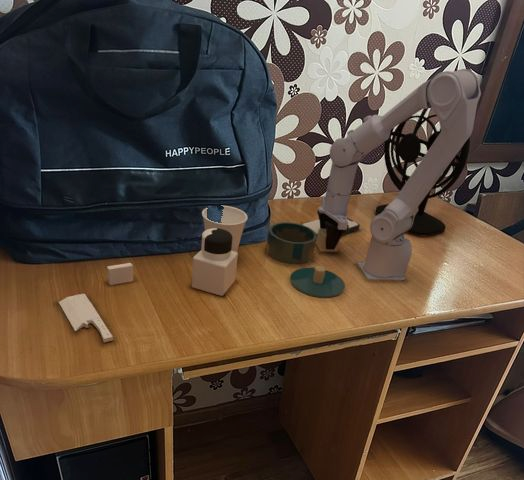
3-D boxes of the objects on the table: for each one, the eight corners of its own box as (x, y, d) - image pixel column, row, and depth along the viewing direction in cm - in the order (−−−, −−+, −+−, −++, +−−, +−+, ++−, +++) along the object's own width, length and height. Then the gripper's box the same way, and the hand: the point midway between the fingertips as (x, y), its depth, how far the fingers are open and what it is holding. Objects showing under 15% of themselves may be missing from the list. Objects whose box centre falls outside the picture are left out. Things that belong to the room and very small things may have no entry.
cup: (236, 274, 111) (241, 228, 105) (193, 265, 112) (195, 218, 106) (246, 254, 119) (252, 210, 113) (206, 246, 120) (209, 202, 113)
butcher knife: (84, 347, 85) (83, 342, 85) (58, 303, 95) (58, 298, 94) (113, 340, 88) (113, 335, 87) (86, 297, 97) (85, 292, 96)
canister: (305, 244, 127) (309, 223, 124) (317, 266, 119) (322, 244, 115) (262, 243, 125) (265, 221, 121) (271, 266, 116) (275, 242, 113)
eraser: (108, 282, 102) (107, 266, 100) (131, 278, 105) (130, 262, 103) (110, 285, 102) (109, 269, 99) (133, 281, 104) (132, 265, 102)
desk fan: (353, 207, 152) (384, 78, 130) (393, 200, 161) (429, 78, 139) (421, 246, 135) (469, 106, 114) (461, 236, 144) (513, 104, 123)
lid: (334, 271, 118) (338, 255, 115) (351, 300, 109) (356, 283, 106) (284, 271, 115) (287, 254, 113) (297, 300, 106) (300, 282, 103)
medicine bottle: (235, 281, 109) (240, 230, 102) (222, 297, 103) (227, 243, 96) (205, 273, 110) (208, 221, 103) (191, 287, 105) (193, 234, 97)
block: (331, 245, 129) (335, 228, 126) (336, 253, 126) (340, 236, 123) (315, 245, 128) (318, 228, 125) (320, 253, 125) (323, 236, 122)
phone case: (321, 243, 130) (360, 230, 139) (322, 237, 129) (362, 224, 138) (297, 229, 135) (337, 217, 144) (298, 224, 134) (338, 212, 143)
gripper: (314, 178, 122) (304, 230, 131) (331, 202, 111) (320, 257, 120) (341, 180, 124) (330, 231, 132) (361, 204, 113) (347, 258, 121)
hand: (327, 244), depth 126 cm, fingers closed on block, 4 cm apart
